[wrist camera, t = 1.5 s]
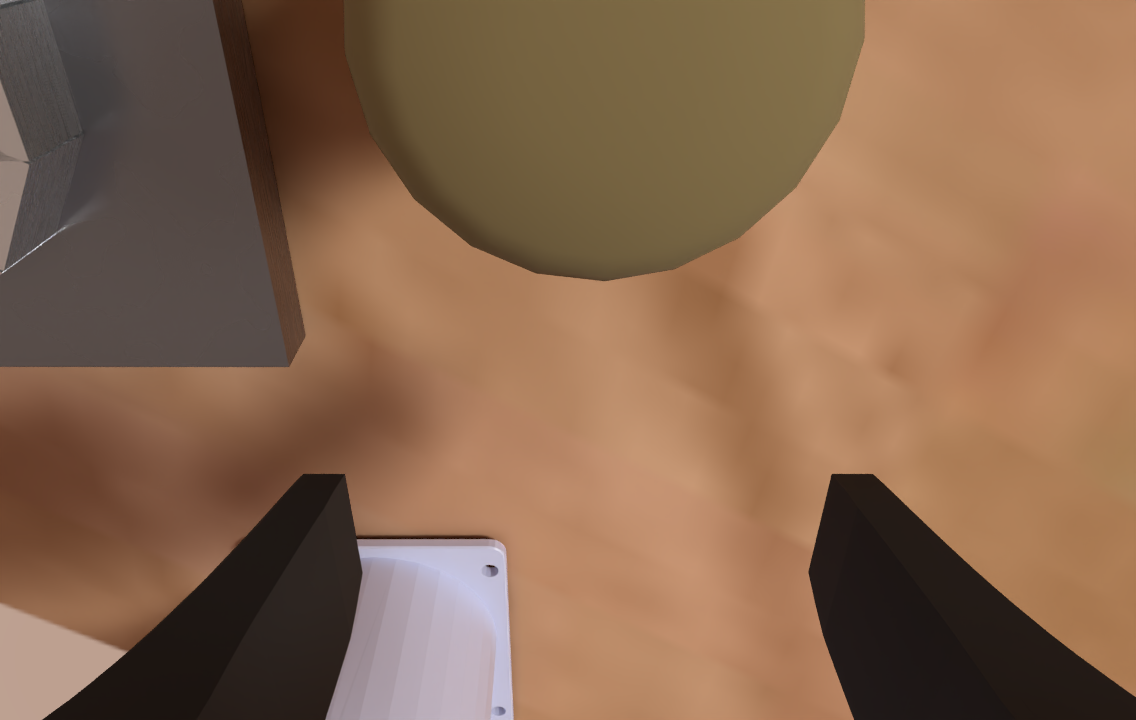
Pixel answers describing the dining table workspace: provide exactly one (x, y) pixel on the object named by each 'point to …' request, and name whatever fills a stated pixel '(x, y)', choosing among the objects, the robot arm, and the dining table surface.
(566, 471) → the dining table surface
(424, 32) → the cork
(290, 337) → the plate
